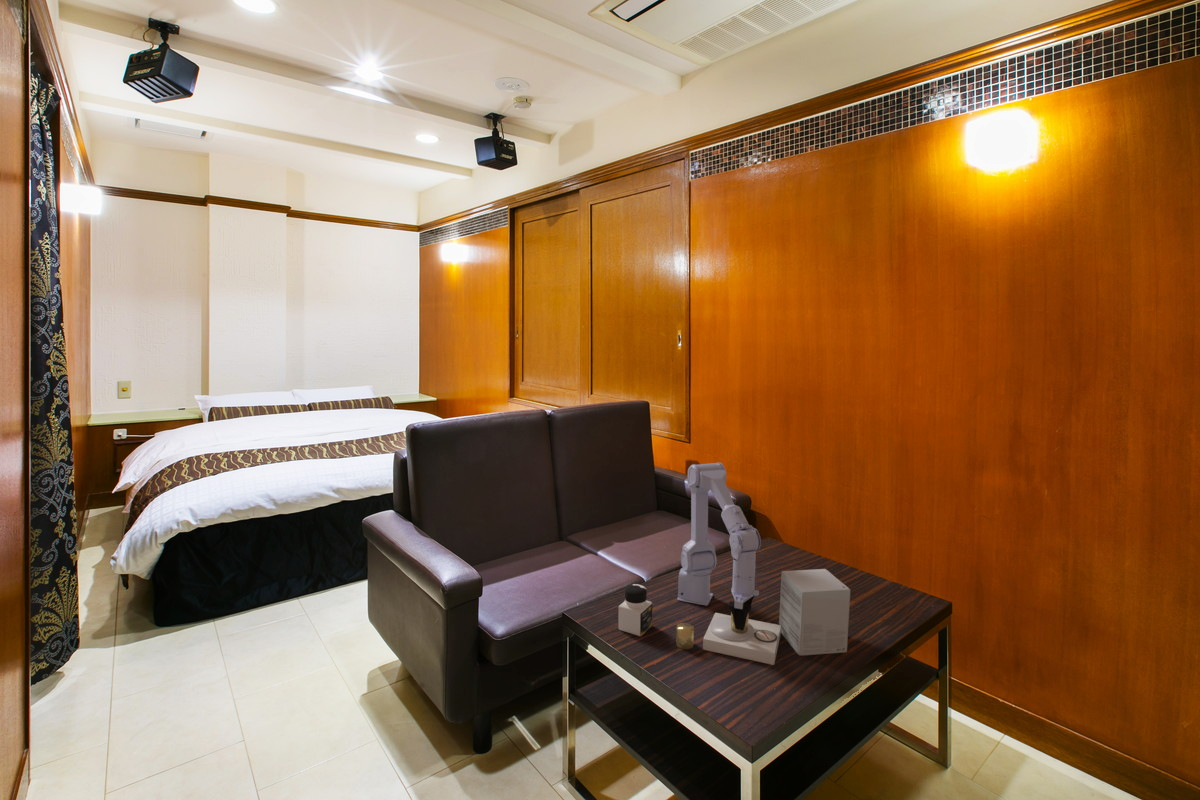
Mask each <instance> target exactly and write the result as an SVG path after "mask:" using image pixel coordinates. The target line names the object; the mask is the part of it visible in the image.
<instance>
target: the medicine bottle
mask: <svg viewBox="0 0 1200 800" xmlns="http://www.w3.org/2000/svg"><path fill="white" fill-rule="evenodd" d="M647 595H648V591H647V588H646V587H645V586H644V585H642V584H638V583H637V584H636V583H633V584H629V585H627V586H626V587H625V588H624V601H623V602H622V603H620V604H619V605H618V629H619V631H622V632H625V633H629V634H630V635H634V636H638V637H642V636H643V635H644V634H645V633H646V632H647V631H648V630H649V629H650V628H651V627H652V626H653V602H652V601H650V600H647V599H648V598H647Z"/></svg>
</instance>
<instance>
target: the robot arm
mask: <svg viewBox="0 0 1200 800" xmlns="http://www.w3.org/2000/svg"><path fill="white" fill-rule="evenodd" d="M687 488H688V489H690V492H691V493H690V495H691V497H690V499H691V500H690V501H691V503H690V504H691V505H690V508H691V509H690V510H691V511H690V513H691V514H690V517H691V519H690V522H691V523H690V527H691V528H690V529H691V531H690V534H691V535H690V537H691V538H690V540H689V541H687V542H685V543H684V545H682V550H681V555H680V564H681V567H682V568H680V570H679V573H678V582H677V583H678V587H677V589H678V590H677V601H679V602H685V603H691V604H695V605H702V606H706V607H708V605H709V604H710V602H711V599H712V598H713V596H714V593H713V592H710V591H711V573H713V569H715V568H716V566H717V561H718V559H717V555H716V547H715V546H714V544H713V543H711V542H710V541H709V492H711V493H712V495H713V497H714V498H715V500H716V501H717V503H718V505H719V506H720V508H721V510H722V511H721V514H720V517H721V518H722V521H723V523H724V525H725V527H726V530H727V532H728V533H729V539H728V541H729V546H730V549H731V550H730V553H731V554H730V555H731V557H732V558H733V559H732V583H731V585H732V586H731V590H730V591H731V594H732V596H733V600H734V601H732V600H730V601H729V602H728V609H729V610H730V613H731V612H732V615H733V619H734V625H735V628H736V629H738V630H744V627H745V623H746V618H747V615H748V613H749V614H750V611H751V610H752V603H753V599H754V598H755V597H758V596H760V591H759V590H757V589H756V588H755V582H756V581H755V580H756V558H757V557H756V556H757V555H756V554H757V551H759V550H760V548H761V545H762V540H761V538H762V537H761V536H760V533H759V530H758V529H757V528H755V527H753V525H751V524H749V522H748V520H747V518H746V516H745V514H744V511H743V510H742V508H741V507H740V506H739V505H736V504H735V503H734V500H733V498H732V495H731V493H730V490H729V488H728V485H727V470H726V467H725V466H724V464H723V463H722V462H714V463H712V462H711V463H701V464H695V463H693V464H691V465H690V466H689V467H688V469H687Z"/></svg>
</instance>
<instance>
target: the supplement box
mask: <svg viewBox="0 0 1200 800" xmlns="http://www.w3.org/2000/svg"><path fill="white" fill-rule="evenodd" d="M779 600H780V601H779V614H778V615H779V618H778V619H779V620H778V625H781V634H782V636H783V637H784V639H785V640H786V641H787V642H788V644H789V645H790V646H791V647H792V649H793V650H794V651H795V652H796V654H797V655H799V656H813V655H825V654H830V655H831V654H840V653H847V652H848V639H849V638H848V637H849V622H850V621H849V619H850V605H851V604H850V602H851V601H850V600H851V589H850V588H849V587H848V586H847V585H846V584H845V583H843V582H842V581H841V580H839V579H838V578H837V577H836V576H835V575H833V573H831V572H830V571H829V570H827V569H826V568H819V569H818V568H817V569H816V568H815V569H803V570H802V569H801V570H782V571H781V578H780V597H779Z"/></svg>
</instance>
